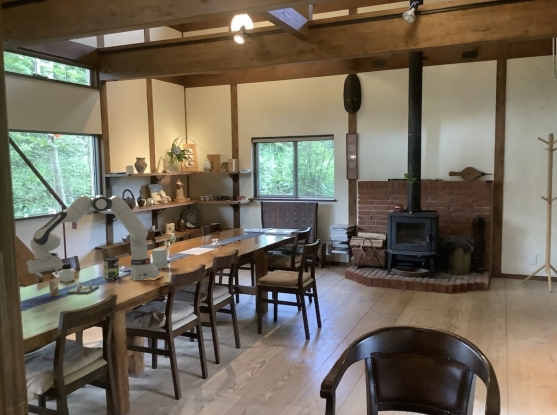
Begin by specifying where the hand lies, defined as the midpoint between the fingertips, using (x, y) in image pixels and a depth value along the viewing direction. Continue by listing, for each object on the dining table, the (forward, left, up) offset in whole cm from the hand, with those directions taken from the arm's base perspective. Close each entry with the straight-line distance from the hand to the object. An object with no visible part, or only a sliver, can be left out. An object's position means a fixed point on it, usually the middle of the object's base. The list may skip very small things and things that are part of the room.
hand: (49, 275), depth 298 cm
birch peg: (-6, +5, -12) cm, 14 cm away
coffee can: (-22, -40, -12) cm, 47 cm away
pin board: (-19, -6, -12) cm, 23 cm away
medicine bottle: (+7, -31, -12) cm, 34 cm away
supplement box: (-46, -72, -12) cm, 86 cm away
